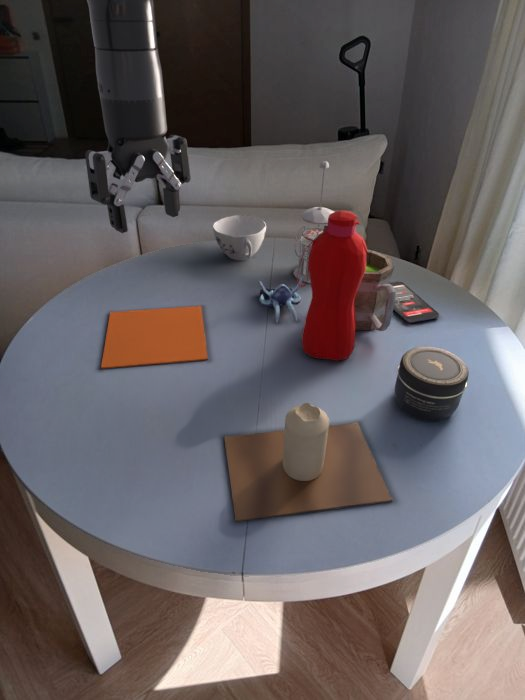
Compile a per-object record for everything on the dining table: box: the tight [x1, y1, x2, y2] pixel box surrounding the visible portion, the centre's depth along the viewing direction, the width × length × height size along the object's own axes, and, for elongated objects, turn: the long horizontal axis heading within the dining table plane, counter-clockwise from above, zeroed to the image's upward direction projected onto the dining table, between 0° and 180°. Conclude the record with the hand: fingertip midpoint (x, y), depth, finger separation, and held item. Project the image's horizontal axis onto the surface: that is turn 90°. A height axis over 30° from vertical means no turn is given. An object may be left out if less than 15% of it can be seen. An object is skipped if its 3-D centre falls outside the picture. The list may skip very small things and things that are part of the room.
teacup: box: [212, 214, 267, 261], centre depth 117 cm, size 15×12×8 cm
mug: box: [354, 249, 396, 332], centre depth 93 cm, size 16×11×12 cm
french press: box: [293, 160, 335, 284], centre depth 105 cm, size 10×12×25 cm
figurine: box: [258, 277, 303, 324], centre depth 99 cm, size 10×12×8 cm
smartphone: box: [386, 281, 440, 324], centre depth 102 cm, size 7×1×15 cm
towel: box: [100, 305, 208, 370], centre depth 92 cm, size 18×18×1 cm
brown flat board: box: [223, 422, 393, 522], centre depth 66 cm, size 20×14×1 cm
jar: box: [394, 346, 470, 423], centre depth 75 cm, size 10×10×8 cm
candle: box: [283, 402, 330, 481], centre depth 63 cm, size 6×6×10 cm
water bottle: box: [296, 210, 368, 361], centre depth 82 cm, size 9×11×25 cm
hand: (147, 222), depth 68 cm, fingers open, 8 cm apart
